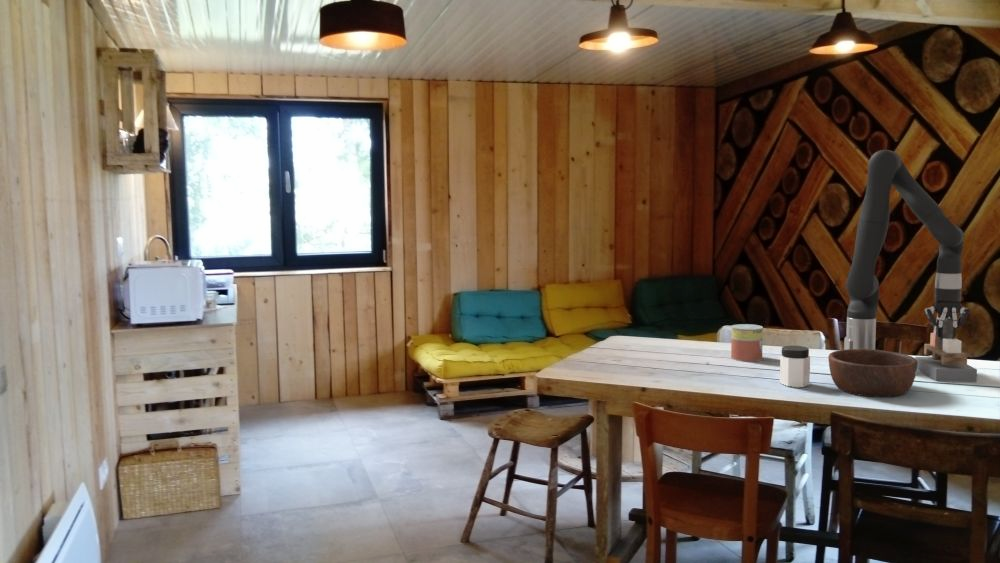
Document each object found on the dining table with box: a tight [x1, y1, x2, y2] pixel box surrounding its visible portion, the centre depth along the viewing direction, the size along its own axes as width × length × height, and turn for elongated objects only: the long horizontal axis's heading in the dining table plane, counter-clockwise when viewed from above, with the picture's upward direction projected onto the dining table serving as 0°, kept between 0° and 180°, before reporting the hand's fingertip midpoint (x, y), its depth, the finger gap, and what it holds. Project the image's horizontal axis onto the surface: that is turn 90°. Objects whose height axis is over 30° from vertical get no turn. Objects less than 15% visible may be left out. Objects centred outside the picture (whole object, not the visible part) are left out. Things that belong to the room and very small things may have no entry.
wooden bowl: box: [828, 349, 918, 398], centre depth 236 cm, size 25×25×10 cm
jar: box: [779, 345, 811, 388], centre depth 243 cm, size 9×8×12 cm
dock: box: [914, 356, 978, 383], centre depth 251 cm, size 12×18×4 cm, turn 171°
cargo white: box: [942, 338, 962, 353], centre depth 245 cm, size 4×4×4 cm
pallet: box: [923, 317, 968, 365], centre depth 250 cm, size 7×16×14 cm, turn 171°
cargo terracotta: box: [929, 332, 939, 347], centre depth 255 cm, size 4×4×4 cm
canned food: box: [730, 323, 764, 363], centre depth 282 cm, size 11×11×12 cm
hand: (945, 337), depth 250 cm, fingers closed on pallet, 3 cm apart
